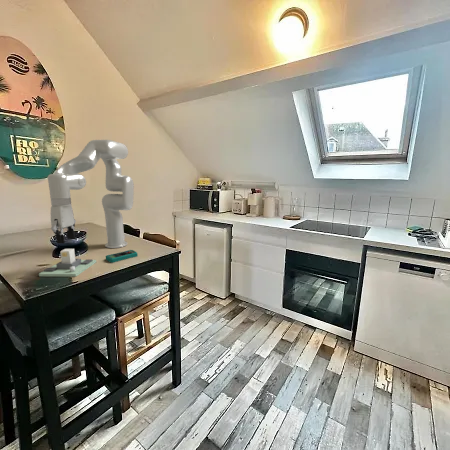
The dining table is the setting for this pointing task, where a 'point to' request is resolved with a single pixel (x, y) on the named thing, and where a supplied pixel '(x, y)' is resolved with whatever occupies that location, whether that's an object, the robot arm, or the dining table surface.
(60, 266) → the board
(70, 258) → the plug
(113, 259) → the digital multimeter
